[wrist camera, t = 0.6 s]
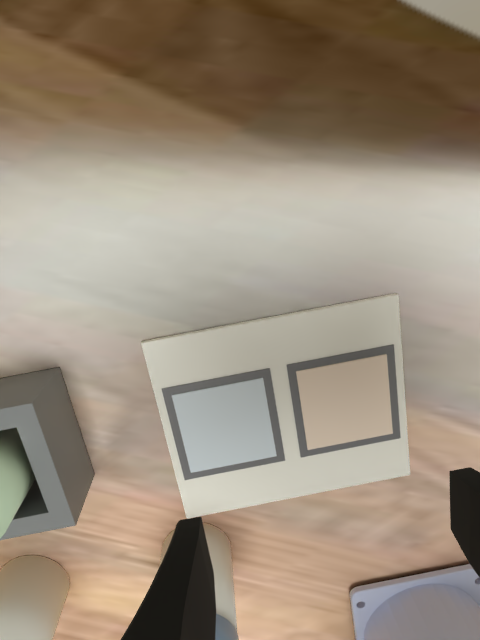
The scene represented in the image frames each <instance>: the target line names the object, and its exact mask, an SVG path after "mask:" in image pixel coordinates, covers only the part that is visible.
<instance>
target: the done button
mask: <svg viewBox="0 0 480 640" xmlns="http://www.w3.org/2000/svg"><path fill="white" fill-rule="evenodd" d="M35 479H36V478H35V475H34V472H33V470H32V467H31V464H30V462H29V459H28V456H27V454H26V451H25V448H24V446H23V443H22V440H21V438H20V435H19V432H18V430H17V427H16V428H11V429H6V430H1V431H0V538H1V537H2V536H3V535H4V534H5V532H6V530H7V529H8V527H9V525H10V523H11V522H12V520H13V518H14V516H15V514H16V513H17V511H18V509H19V507H20V505H21V504H22V502H23V500H24V498H25V497H26V495H27V493H28V491H29V489H30V488H31V486H32V484H33V482H34V480H35Z"/></svg>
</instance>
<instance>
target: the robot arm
mask: <svg viewBox="0 0 480 640" xmlns="http://www.w3.org/2000/svg"><path fill="white" fill-rule="evenodd" d="M450 515H451V530H452V532H453V534H454V536H455V538H456V540H457V541H458V543H459V545H460V547H461V549H462V551H463V553H464V554H465V556H466V558H467V560H468V561H469V563H470V564H467V565H462V566H457V567H452V568H447V569H442V570H437V571H432V572H427V573H422V574H417V575H412V576H407V577H402V578H397V579H392V580H387V581H382V582H377V583H372V584H367V585H362V586H357V587H354V588H353V589H352V590H351V591H350V602H351V609H352V617H353V625H354V633H355V640H480V472H478V471H476V470H474V469H472V468H471V467H470V468H465V469H459V470H454V471H450ZM215 631H216V599H215V582H214V571H213V567H212V562H211V558H210V553H209V549H208V544H207V540H206V536H205V531H204V527H203V522H202V518H201V517H195V518H190V519H184V520H180V521H179V522H178V523H177V525H176V528H175V531H174V534H173V536H172V539H171V542H170V544H169V547H168V549H167V551H166V554H165V556H164V558H163V561H162V563H161V565H160V567H159V569H158V572H157V574H156V576H155V578H154V580H153V582H152V584H151V586H150V588H149V590H148V592H147V594H146V596H145V598H144V600H143V602H142V604H141V605H140V607H139V609H138V611H137V613H136V615H135V617H134V618H133V620H132V622H131V623H130V625H129V627H128V629H127V630H126V632H125V634H124V635H123V637H122V638H121V640H215Z"/></svg>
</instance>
